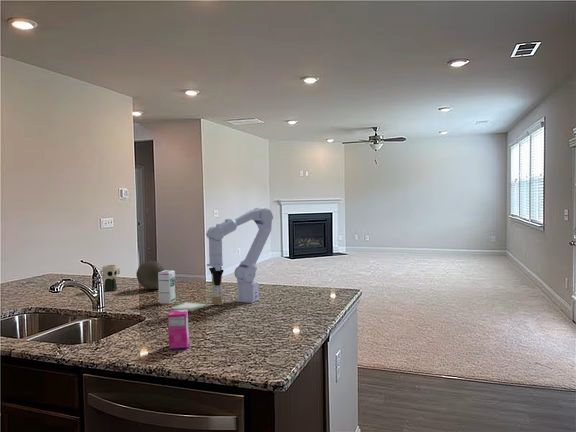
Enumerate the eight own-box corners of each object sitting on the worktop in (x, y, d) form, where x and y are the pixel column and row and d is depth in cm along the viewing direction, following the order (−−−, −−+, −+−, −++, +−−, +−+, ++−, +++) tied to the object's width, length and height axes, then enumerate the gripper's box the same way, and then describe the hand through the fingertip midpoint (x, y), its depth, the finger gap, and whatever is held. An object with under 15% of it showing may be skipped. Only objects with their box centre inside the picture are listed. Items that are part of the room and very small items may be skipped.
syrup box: (170, 303, 203) (169, 272, 203) (158, 303, 205) (157, 271, 204) (176, 301, 209) (175, 270, 208) (164, 300, 210) (163, 269, 209)
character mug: (104, 293, 229) (103, 267, 229) (97, 291, 234) (96, 266, 234) (123, 289, 238) (122, 265, 237) (116, 287, 242) (116, 263, 242)
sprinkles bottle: (217, 301, 203) (217, 271, 202) (223, 303, 199) (224, 273, 199) (209, 303, 199) (209, 273, 199) (215, 304, 196) (215, 274, 196)
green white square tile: (206, 305, 200) (206, 303, 200) (192, 311, 189) (192, 309, 189) (185, 303, 204) (185, 302, 204) (170, 309, 193) (170, 307, 193)
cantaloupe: (144, 286, 244) (144, 259, 243) (169, 287, 242) (168, 259, 241) (132, 292, 230) (131, 263, 229) (158, 292, 228) (157, 263, 227)
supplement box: (171, 344, 147) (170, 309, 147) (189, 343, 148) (188, 309, 147) (168, 350, 142) (167, 314, 141) (187, 349, 142) (186, 313, 142)
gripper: (204, 252, 204) (205, 282, 205) (208, 256, 190) (209, 288, 191) (220, 251, 206) (221, 280, 207) (225, 255, 192) (225, 286, 193)
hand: (216, 284), depth 199 cm, fingers closed on sprinkles bottle, 4 cm apart
